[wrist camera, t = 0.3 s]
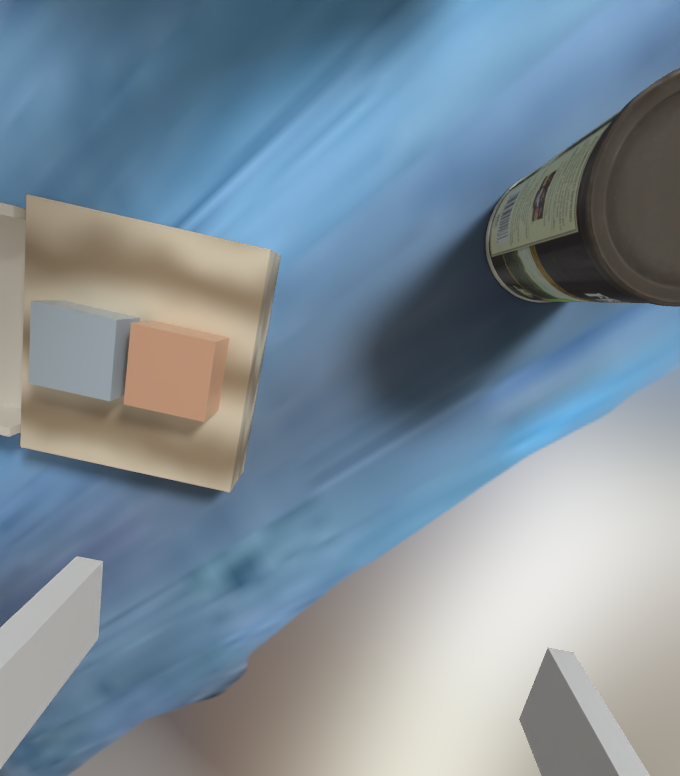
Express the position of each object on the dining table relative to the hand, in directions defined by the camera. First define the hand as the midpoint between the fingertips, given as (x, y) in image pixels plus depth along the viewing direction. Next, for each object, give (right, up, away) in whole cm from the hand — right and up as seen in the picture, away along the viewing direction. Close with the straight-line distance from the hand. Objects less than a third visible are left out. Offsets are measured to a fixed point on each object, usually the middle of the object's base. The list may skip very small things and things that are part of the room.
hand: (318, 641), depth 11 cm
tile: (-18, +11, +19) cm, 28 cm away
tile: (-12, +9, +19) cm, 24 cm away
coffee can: (+17, +20, +20) cm, 33 cm away
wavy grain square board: (-15, +11, +23) cm, 30 cm away
